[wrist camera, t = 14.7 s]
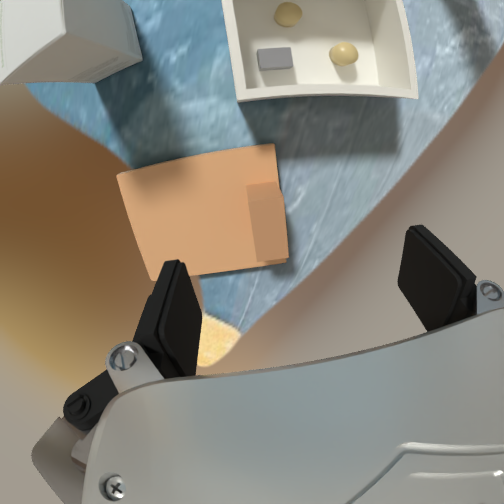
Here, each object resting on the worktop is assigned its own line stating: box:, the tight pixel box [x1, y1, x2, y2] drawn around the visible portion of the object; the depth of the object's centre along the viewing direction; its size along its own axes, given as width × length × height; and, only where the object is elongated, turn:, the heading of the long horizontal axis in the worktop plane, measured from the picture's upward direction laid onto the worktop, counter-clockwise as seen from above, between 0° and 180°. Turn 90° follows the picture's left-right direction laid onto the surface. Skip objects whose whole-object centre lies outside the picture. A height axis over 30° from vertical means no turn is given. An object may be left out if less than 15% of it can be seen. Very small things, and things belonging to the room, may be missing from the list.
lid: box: [117, 143, 289, 281], centre depth 27 cm, size 17×14×7 cm
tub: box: [221, 0, 418, 103], centre depth 18 cm, size 16×13×7 cm
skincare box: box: [0, 0, 143, 85], centre depth 12 cm, size 8×7×16 cm
